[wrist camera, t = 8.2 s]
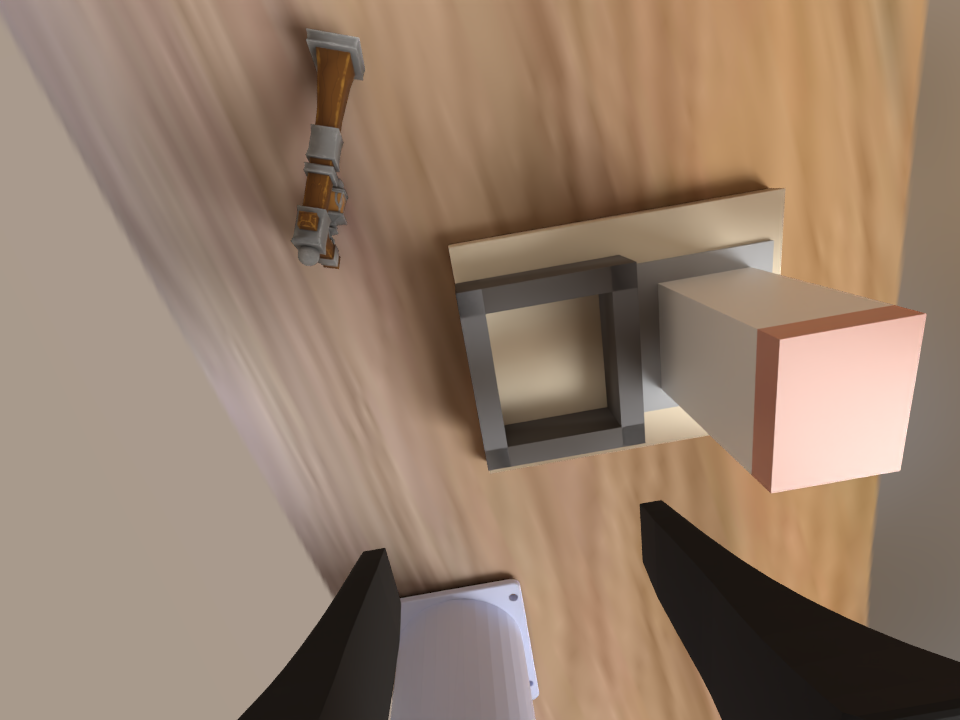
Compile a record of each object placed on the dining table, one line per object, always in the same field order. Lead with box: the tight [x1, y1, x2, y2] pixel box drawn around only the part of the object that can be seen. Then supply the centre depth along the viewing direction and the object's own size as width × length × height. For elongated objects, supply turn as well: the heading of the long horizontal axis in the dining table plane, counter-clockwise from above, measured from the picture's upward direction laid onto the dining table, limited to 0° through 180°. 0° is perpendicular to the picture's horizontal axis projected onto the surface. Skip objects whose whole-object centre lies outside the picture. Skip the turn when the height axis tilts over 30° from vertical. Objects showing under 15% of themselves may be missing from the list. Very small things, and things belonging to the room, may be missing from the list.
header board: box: [448, 188, 785, 474], centre depth 21 cm, size 11×14×3 cm
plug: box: [658, 267, 926, 493], centre depth 17 cm, size 5×4×8 cm
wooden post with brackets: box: [291, 28, 365, 269], centre depth 18 cm, size 2×8×4 cm, turn 172°
